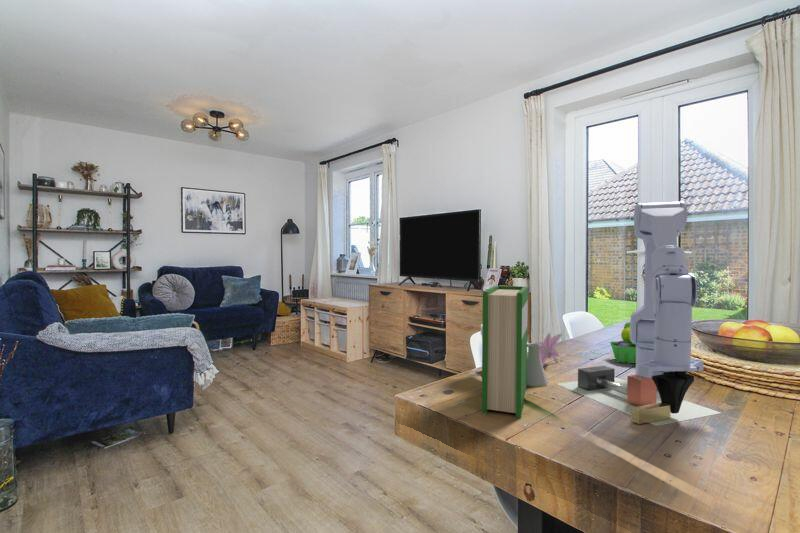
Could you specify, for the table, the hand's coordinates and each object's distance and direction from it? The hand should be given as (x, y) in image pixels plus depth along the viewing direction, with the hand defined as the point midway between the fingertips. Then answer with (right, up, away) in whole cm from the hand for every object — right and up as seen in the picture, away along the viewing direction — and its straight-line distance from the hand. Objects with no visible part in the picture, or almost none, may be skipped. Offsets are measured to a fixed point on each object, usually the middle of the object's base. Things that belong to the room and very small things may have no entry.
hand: (670, 411), depth 75 cm
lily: (-10, -1, +38) cm, 39 cm away
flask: (-19, -2, +21) cm, 28 cm away
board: (-1, -2, +11) cm, 11 cm away
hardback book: (-28, -2, +11) cm, 30 cm away
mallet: (-4, 0, +13) cm, 13 cm away
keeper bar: (-5, -1, -2) cm, 5 cm away
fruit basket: (+19, -1, +44) cm, 48 cm away
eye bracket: (-6, -1, +17) cm, 18 cm away
